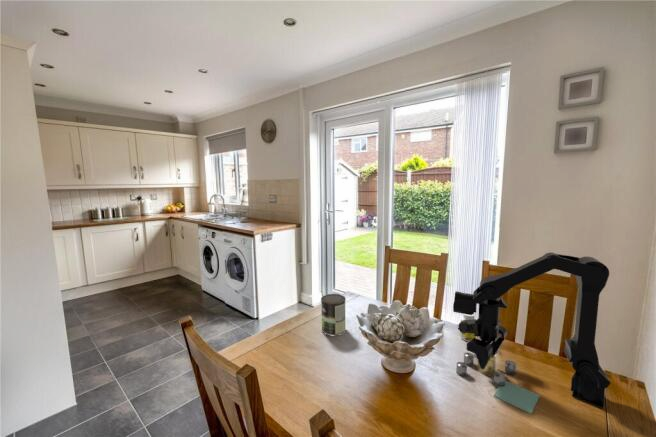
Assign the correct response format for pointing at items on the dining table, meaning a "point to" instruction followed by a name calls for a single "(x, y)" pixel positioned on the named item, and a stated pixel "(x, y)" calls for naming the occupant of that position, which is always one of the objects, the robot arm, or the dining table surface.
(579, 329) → the robot arm
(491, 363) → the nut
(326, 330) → the coffee can
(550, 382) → the dining table surface
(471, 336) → the supplement bottle
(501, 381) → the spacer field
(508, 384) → the mat
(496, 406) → the dining table surface
